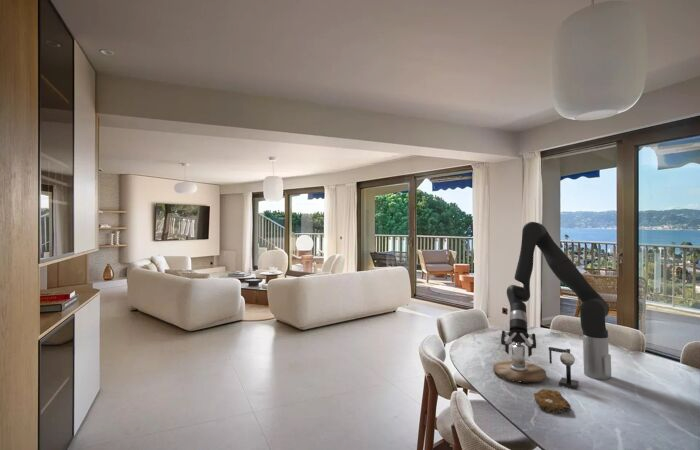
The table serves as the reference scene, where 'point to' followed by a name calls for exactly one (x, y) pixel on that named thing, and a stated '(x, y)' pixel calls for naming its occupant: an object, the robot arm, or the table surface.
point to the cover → (518, 358)
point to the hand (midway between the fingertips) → (518, 354)
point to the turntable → (531, 375)
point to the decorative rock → (551, 401)
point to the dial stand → (568, 361)
